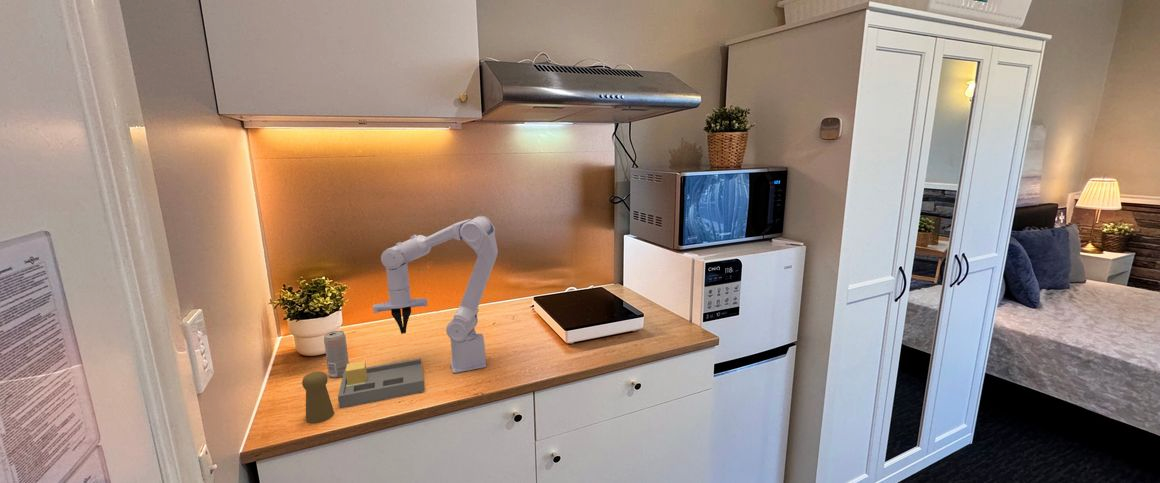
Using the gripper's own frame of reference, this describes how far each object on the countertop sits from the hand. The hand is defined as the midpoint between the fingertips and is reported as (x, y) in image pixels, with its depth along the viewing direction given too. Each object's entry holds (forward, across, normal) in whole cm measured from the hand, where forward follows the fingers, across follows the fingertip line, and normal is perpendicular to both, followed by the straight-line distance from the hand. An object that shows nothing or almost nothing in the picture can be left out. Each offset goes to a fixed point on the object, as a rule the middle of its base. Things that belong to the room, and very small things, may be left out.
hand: (403, 332), depth 136 cm
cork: (+10, +20, +21) cm, 31 cm away
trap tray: (+10, +6, +12) cm, 17 cm away
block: (+8, +12, +9) cm, 17 cm away
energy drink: (+10, +18, -1) cm, 21 cm away
